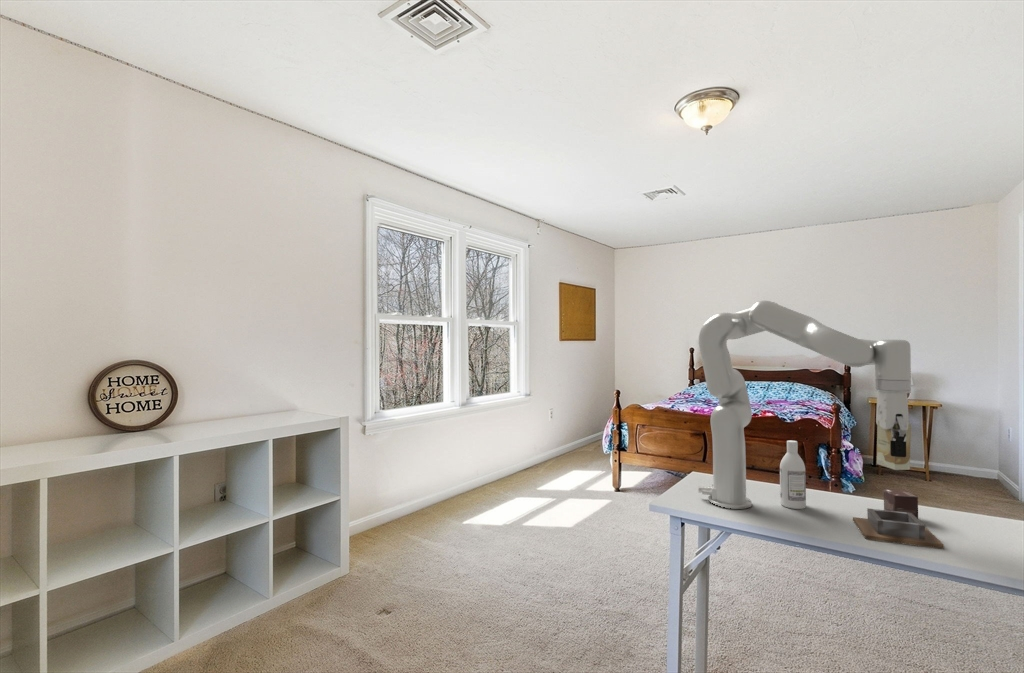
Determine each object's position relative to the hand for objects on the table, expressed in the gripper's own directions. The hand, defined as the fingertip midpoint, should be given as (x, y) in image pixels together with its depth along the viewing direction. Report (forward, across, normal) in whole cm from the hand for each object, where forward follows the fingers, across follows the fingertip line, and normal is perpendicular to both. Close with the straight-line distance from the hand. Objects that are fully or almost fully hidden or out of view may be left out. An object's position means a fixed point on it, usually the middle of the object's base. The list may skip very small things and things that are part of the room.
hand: (893, 452), depth 132 cm
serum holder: (+21, 0, 0) cm, 21 cm away
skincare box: (+4, 0, 0) cm, 4 cm away
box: (+22, -14, +5) cm, 26 cm away
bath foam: (+22, -15, -22) cm, 34 cm away
